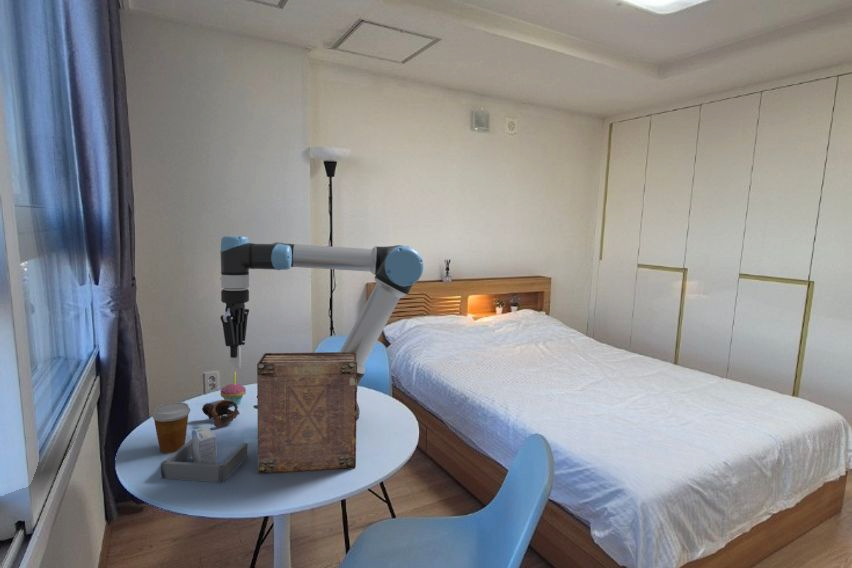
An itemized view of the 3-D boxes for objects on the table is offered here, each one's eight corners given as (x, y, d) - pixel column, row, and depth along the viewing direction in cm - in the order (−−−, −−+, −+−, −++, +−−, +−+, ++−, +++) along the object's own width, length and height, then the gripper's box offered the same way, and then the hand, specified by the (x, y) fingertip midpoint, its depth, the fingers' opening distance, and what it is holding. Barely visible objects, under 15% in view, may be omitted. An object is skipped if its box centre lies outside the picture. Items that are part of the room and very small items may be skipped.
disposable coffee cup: (150, 458, 120) (148, 416, 119) (155, 443, 129) (154, 403, 128) (189, 452, 124) (188, 412, 123) (192, 438, 133) (191, 400, 132)
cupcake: (225, 399, 164) (225, 368, 163) (249, 399, 165) (248, 368, 164) (217, 408, 156) (216, 375, 154) (242, 408, 157) (241, 375, 155)
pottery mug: (242, 416, 151) (244, 400, 147) (230, 438, 143) (232, 422, 139) (207, 407, 150) (208, 391, 146) (193, 430, 142) (194, 413, 138)
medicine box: (217, 467, 117) (216, 436, 117) (198, 472, 115) (198, 440, 114) (209, 455, 123) (208, 425, 123) (191, 460, 121) (191, 429, 120)
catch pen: (247, 456, 124) (247, 442, 123) (223, 482, 110) (223, 467, 110) (191, 452, 124) (191, 439, 124) (161, 478, 111) (160, 463, 111)
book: (354, 452, 128) (357, 351, 125) (355, 468, 119) (358, 361, 116) (263, 456, 124) (263, 352, 120) (257, 474, 115) (257, 362, 111)
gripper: (233, 285, 135) (234, 360, 138) (210, 290, 123) (211, 373, 125) (257, 286, 135) (257, 361, 138) (236, 292, 122) (237, 374, 125)
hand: (235, 366), depth 131 cm, fingers closed
